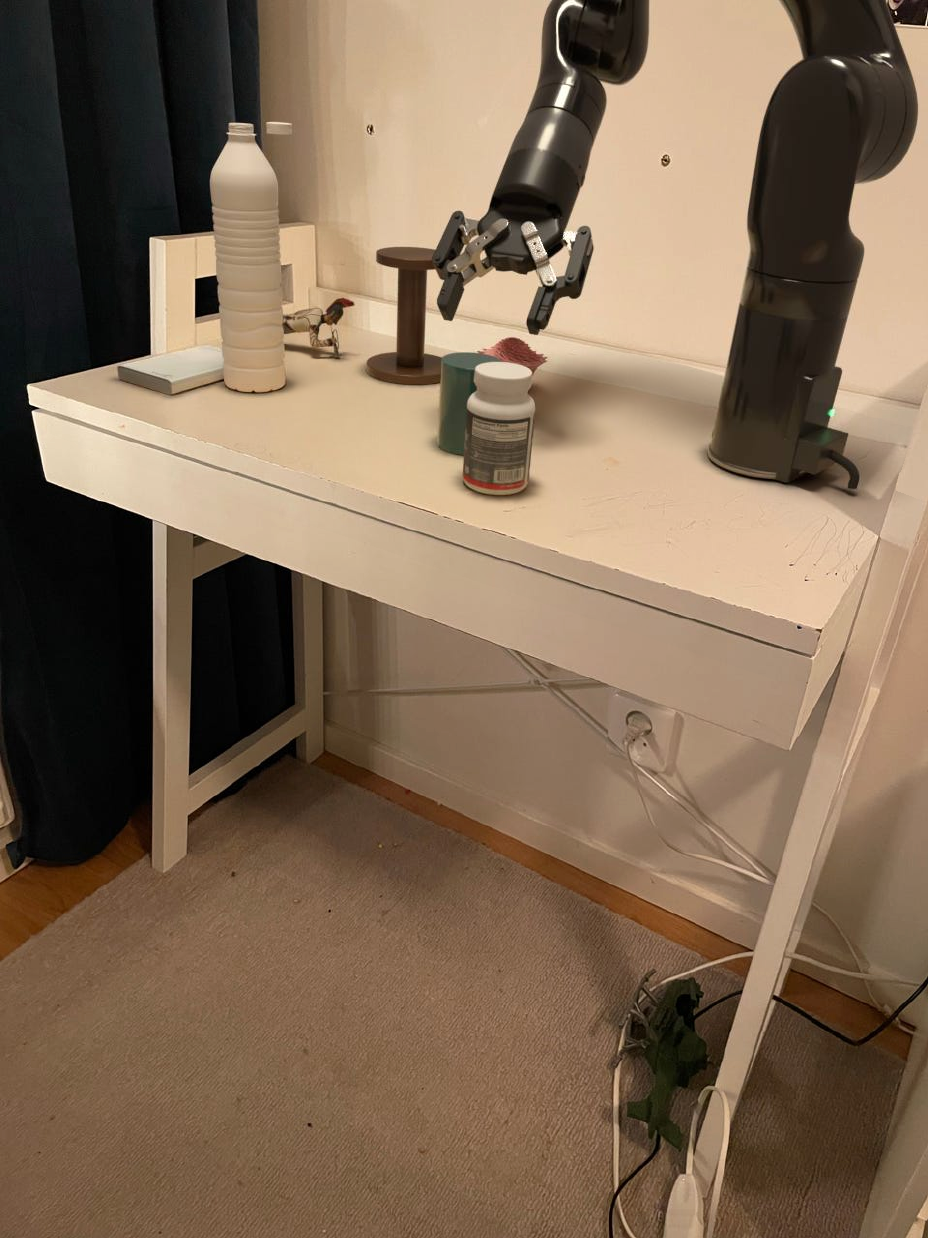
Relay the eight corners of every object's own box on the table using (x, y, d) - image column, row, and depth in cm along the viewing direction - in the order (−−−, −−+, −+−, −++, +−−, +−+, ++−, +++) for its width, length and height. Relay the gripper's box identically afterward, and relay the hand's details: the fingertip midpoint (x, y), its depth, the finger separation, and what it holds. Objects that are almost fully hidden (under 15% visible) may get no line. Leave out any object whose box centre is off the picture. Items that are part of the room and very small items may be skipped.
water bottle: (245, 396, 96) (228, 124, 84) (212, 381, 100) (192, 118, 88) (314, 383, 102) (309, 125, 89) (281, 369, 106) (271, 120, 93)
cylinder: (508, 447, 88) (515, 362, 84) (467, 460, 85) (472, 372, 80) (466, 430, 91) (471, 348, 87) (424, 442, 88) (428, 357, 84)
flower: (558, 390, 105) (564, 340, 102) (509, 403, 100) (513, 350, 97) (508, 373, 109) (512, 325, 107) (459, 384, 104) (461, 334, 102)
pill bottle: (477, 466, 83) (484, 355, 78) (537, 479, 82) (548, 366, 76) (451, 488, 79) (458, 372, 74) (514, 502, 77) (525, 384, 72)
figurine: (251, 372, 115) (360, 356, 110) (233, 354, 112) (345, 336, 106) (258, 332, 117) (366, 313, 112) (241, 312, 113) (351, 292, 108)
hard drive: (171, 380, 94) (256, 356, 104) (116, 364, 98) (203, 342, 107) (172, 396, 95) (257, 370, 105) (118, 379, 99) (204, 356, 108)
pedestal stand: (470, 375, 108) (478, 256, 101) (407, 390, 102) (411, 265, 95) (411, 355, 114) (415, 242, 107) (348, 368, 107) (347, 249, 101)
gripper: (464, 138, 86) (405, 286, 83) (611, 151, 82) (555, 308, 78) (482, 196, 93) (428, 334, 90) (619, 211, 89) (568, 358, 85)
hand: (487, 322), depth 84 cm, fingers open, 8 cm apart
